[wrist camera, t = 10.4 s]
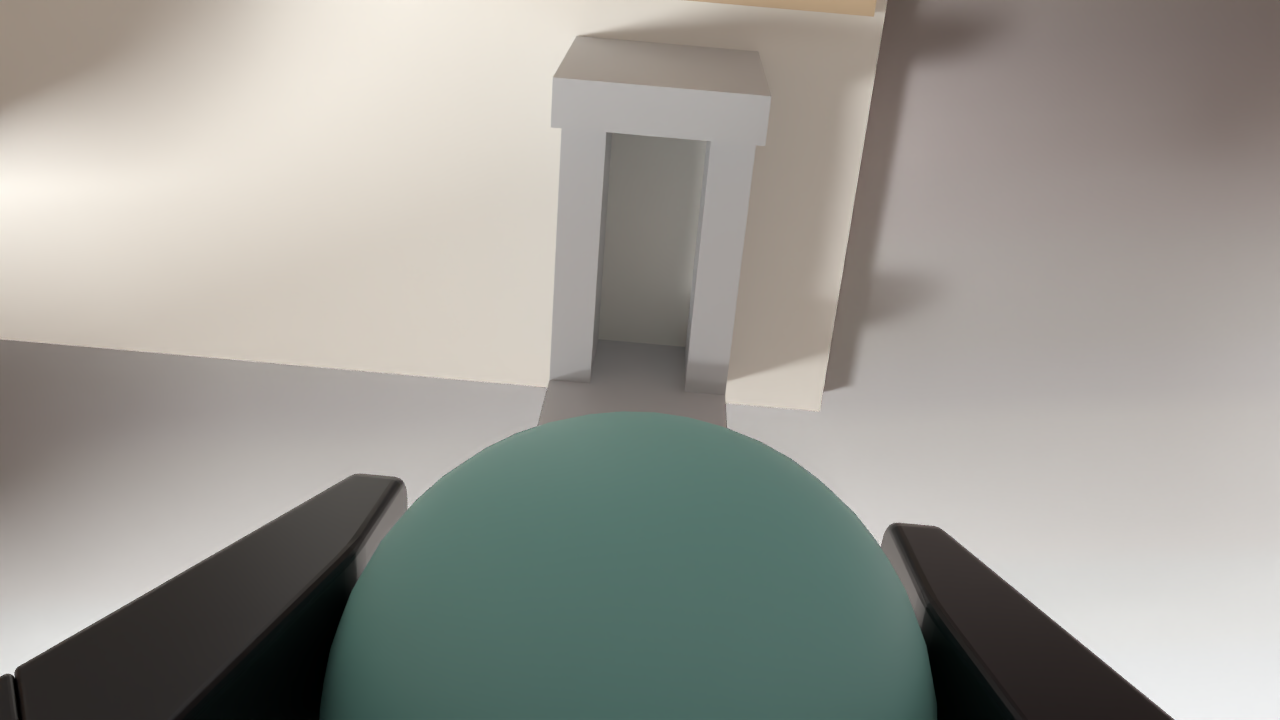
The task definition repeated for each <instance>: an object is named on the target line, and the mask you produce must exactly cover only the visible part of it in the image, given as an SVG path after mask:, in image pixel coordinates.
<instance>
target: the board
mask: <svg viewBox="0 0 1280 720" xmlns="http://www.w3.org/2000/svg"><path fill="white" fill-rule="evenodd" d="M886 6H887V0H0V339H2V340H13V341H24V342H36V343H47V344H58V345H70V346H81V347H92V348H104V349H115V350H126V351H137V352H149V353H160V354H171V355H183V356H194V357H205V358H217V359H228V360H239V361H250V362H262V363H273V364H284V365H296V366H307V367H318V368H330V369H341V370H352V371H363V372H375V373H386V374H397V375H409V376H420V377H431V378H443V379H454V380H465V381H477V382H488V383H499V384H510V385H522V386H533V387H544V388H547V391H546V395H545V399H544V403H543V406H542V410H541V414H540V418H539V422H538V426H540V425H543V424H546V423H549V422H554V421H558V420H563V419H568V418H573V417H578V416H583V415H588V414H597V413H609V412H621V411H629V412H657V413H663V414H670V415H677V416H683V417H689V418H693V419H697V420H701V421H704V422H708V423H712V424H715V425H719V426H722V427H725V428H727V419H726V404H736V405H748V406H759V407H770V408H782V409H793V410H804V411H816V412H820V408H821V402H822V396H823V390H824V384H825V377H826V371H827V365H828V359H829V353H830V347H831V341H832V335H833V329H834V323H835V317H836V311H837V304H838V298H839V292H840V286H841V280H842V274H843V268H844V262H845V256H846V250H847V244H848V237H849V231H850V225H851V219H852V213H853V207H854V201H855V195H856V189H857V183H858V177H859V171H860V164H861V158H862V152H863V146H864V140H865V134H866V128H867V122H868V116H869V110H870V104H871V98H872V91H873V85H874V79H875V73H876V67H877V61H878V55H879V49H880V43H881V37H882V31H883V25H884V18H885V12H886Z"/></svg>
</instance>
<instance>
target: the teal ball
mask: <svg viewBox="0 0 1280 720" xmlns="http://www.w3.org/2000/svg"><path fill="white" fill-rule="evenodd" d="M319 720H937V701H936V696H935V690H934V684H933V678H932V673H931V668H930V662H929V657H928V652H927V646H926V643H925V640H924V637H923V635H922V632H921V629H920V627H919V624H918V621H917V618H916V616H915V613H914V610H913V608H912V605H911V603H910V600H909V597H908V595H907V592H906V590H905V588H904V586H903V584H902V582H901V581H900V579H899V577H898V575H897V574H896V572H895V570H894V568H893V566H892V565H891V563H890V561H889V559H888V558H887V556H886V555H885V553H884V552H883V550H882V549H881V547H880V546H879V544H878V543H877V541H876V540H875V539H874V537H873V536H872V535H871V533H870V532H869V531H868V530H867V528H866V527H865V526H864V524H863V523H862V522H861V521H860V519H859V518H858V517H857V515H856V514H855V513H854V512H853V511H852V510H851V509H850V508H849V507H848V506H847V505H845V504H844V503H843V502H842V501H841V500H840V499H839V498H838V497H837V496H836V495H835V494H834V493H833V492H832V491H831V490H830V489H829V488H828V487H827V486H825V485H824V484H823V483H822V482H821V481H820V480H819V479H818V478H816V477H815V476H814V475H812V474H811V473H810V472H808V471H807V470H805V469H804V468H803V467H801V466H800V465H799V464H797V463H796V462H795V461H793V460H792V459H791V458H789V457H787V456H785V455H783V454H781V453H780V452H778V451H776V450H774V449H772V448H771V447H769V446H767V445H765V444H763V443H762V442H760V441H757V440H755V439H752V438H750V437H747V436H745V435H742V434H740V433H737V432H735V431H732V430H730V429H728V428H725V427H722V426H719V425H715V424H712V423H708V422H704V421H701V420H697V419H693V418H689V417H683V416H677V415H670V414H663V413H657V412H629V411H621V412H609V413H597V414H588V415H583V416H578V417H573V418H568V419H563V420H558V421H554V422H549V423H546V424H543V425H540V426H537V427H534V428H531V429H528V430H525V431H522V432H519V433H516V434H514V435H512V436H510V437H508V438H506V439H504V440H502V441H500V442H497V443H495V444H493V445H491V446H489V447H487V448H485V449H484V450H482V451H481V452H479V453H478V454H476V455H475V456H473V457H471V458H470V459H468V460H467V461H465V462H464V463H462V464H461V465H459V466H458V467H456V468H455V469H453V470H452V471H450V472H449V473H447V474H446V475H444V476H443V477H442V478H441V479H439V480H438V481H437V482H436V483H435V484H434V485H433V486H432V487H430V488H429V489H428V490H427V491H426V492H425V493H424V494H423V495H421V496H420V497H419V498H418V499H417V500H416V501H415V502H414V503H413V504H412V506H411V507H410V508H409V509H408V510H407V511H406V512H405V513H404V514H403V515H402V517H401V518H400V519H399V520H398V521H397V523H396V524H395V525H394V526H393V527H392V529H391V530H390V531H389V532H388V533H387V535H386V536H385V537H384V538H383V539H382V541H381V542H380V544H379V545H378V547H377V549H376V550H375V552H374V554H373V555H372V557H371V559H370V561H369V562H368V564H367V566H366V567H365V569H364V571H363V572H362V574H361V576H360V577H359V579H358V581H357V583H356V584H355V586H354V588H353V590H352V591H351V594H350V596H349V599H348V601H347V604H346V606H345V609H344V611H343V614H342V617H341V619H340V622H339V625H338V628H337V630H336V633H335V636H334V639H333V642H332V645H331V648H330V652H329V657H328V662H327V667H326V672H325V677H324V683H323V690H322V697H321V704H320V716H319Z"/></svg>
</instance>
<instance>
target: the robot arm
mask: <svg viewBox="0 0 1280 720" xmlns="http://www.w3.org/2000/svg"><path fill="white" fill-rule="evenodd" d="M406 511H407V491H406V487H405V484H404V482H403V481H402V480H401V479H400V478H397V477H390V476H379V475H368V474H354V475H352V476H350V477H348V478H346V479H344V480H342V481H341V482H339V483H337V484H335V485H334V486H332V487H330V488H328V489H327V490H325V491H323V492H322V493H320V494H318V495H316V496H315V497H313V498H311V499H309V500H308V501H306V502H304V503H302V504H301V505H299V506H297V507H295V508H294V509H292V510H290V511H288V512H287V513H285V514H283V515H282V516H280V517H278V518H276V519H275V520H273V521H271V522H269V523H268V524H266V525H264V526H262V527H261V528H259V529H257V530H255V531H254V532H252V533H250V534H248V535H247V536H245V537H243V538H241V539H240V540H238V541H236V542H235V543H233V544H231V545H229V546H228V547H226V548H224V549H222V550H221V551H219V552H217V553H215V554H214V555H212V556H210V557H208V558H207V559H205V560H203V561H201V562H200V563H198V564H196V565H195V566H193V567H191V568H189V569H188V570H186V571H184V572H182V573H181V574H179V575H177V576H175V577H174V578H172V579H170V580H168V581H167V582H165V583H163V584H161V585H160V586H158V587H156V588H154V589H153V590H151V591H149V592H148V593H146V594H144V595H142V596H141V597H139V598H137V599H135V600H134V601H132V602H130V603H128V604H127V605H125V606H123V607H121V608H120V609H118V610H116V611H114V612H113V613H111V614H109V615H108V616H106V617H104V618H102V619H101V620H99V621H97V622H95V623H94V624H92V625H90V626H88V627H87V628H85V629H83V630H81V631H80V632H78V633H76V634H74V635H73V636H71V637H69V638H67V639H66V640H64V641H62V642H60V643H59V644H57V645H55V646H53V647H52V648H50V649H48V650H47V651H45V652H43V653H41V654H40V655H38V656H36V657H34V658H33V659H31V660H29V661H27V662H26V663H24V664H22V665H20V666H19V667H17V668H16V670H15V672H14V675H15V678H14V676H13V675H11V674H4V675H2V676H1V677H0V720H319V716H320V704H321V697H322V690H323V683H324V677H325V672H326V667H327V662H328V657H329V652H330V648H331V645H332V642H333V639H334V636H335V633H336V630H337V628H338V625H339V622H340V619H341V617H342V614H343V611H344V609H345V606H346V604H347V601H348V599H349V596H350V594H351V591H352V590H353V588H354V586H355V584H356V583H357V581H358V579H359V577H360V576H361V574H362V572H363V571H364V569H365V567H366V566H367V564H368V562H369V561H370V559H371V557H372V555H373V554H374V552H375V550H376V549H377V547H378V545H379V544H380V542H381V541H382V539H383V538H384V537H385V536H386V535H387V533H388V532H389V531H390V530H391V529H392V527H393V526H394V525H395V524H396V523H397V521H398V520H399V519H400V518H401V517H402V515H403V514H404V513H405V512H406ZM881 549H882V550H883V552H884V553H885V555H886V556H887V558H888V559H889V561H890V563H891V565H892V566H893V568H894V570H895V572H896V574H897V575H898V577H899V579H900V581H901V582H902V584H903V586H904V588H905V590H906V592H907V595H908V597H909V600H910V603H911V605H912V608H913V610H914V613H915V616H916V618H917V621H918V624H919V627H920V629H921V632H922V635H923V637H924V640H925V643H926V646H927V652H928V657H929V662H930V668H931V673H932V678H933V684H934V690H935V696H936V701H937V720H1174V719H1173V718H1172V717H1171V716H1169V715H1168V714H1167V713H1166V712H1165V711H1163V710H1162V709H1161V708H1160V707H1158V706H1157V705H1156V704H1155V703H1154V702H1152V701H1151V700H1150V699H1149V698H1147V697H1146V696H1145V695H1144V694H1143V693H1141V692H1140V691H1139V690H1138V689H1136V688H1135V687H1134V686H1133V685H1132V684H1130V683H1129V682H1128V681H1127V680H1125V679H1124V678H1123V677H1122V676H1121V675H1119V674H1118V673H1117V672H1116V671H1114V670H1113V669H1112V668H1111V667H1110V666H1108V665H1107V664H1106V663H1105V662H1103V661H1102V660H1101V659H1100V658H1099V657H1097V656H1096V655H1095V654H1094V653H1092V652H1091V651H1090V650H1089V649H1088V648H1086V647H1085V646H1084V645H1083V644H1082V643H1080V642H1079V641H1078V640H1077V639H1075V638H1074V637H1073V636H1072V635H1071V634H1069V633H1068V632H1067V631H1066V630H1064V629H1063V628H1062V627H1061V626H1060V625H1058V624H1057V623H1056V622H1055V621H1053V620H1052V619H1051V618H1050V617H1049V616H1047V615H1046V614H1045V613H1044V612H1042V611H1041V610H1040V609H1039V608H1038V607H1036V606H1035V605H1034V604H1033V603H1031V602H1030V601H1029V600H1028V599H1027V598H1025V597H1024V596H1023V595H1022V594H1020V593H1019V592H1018V591H1017V590H1016V589H1014V588H1013V587H1012V586H1011V585H1009V584H1008V583H1007V582H1006V581H1005V580H1003V579H1002V578H1001V577H1000V576H998V575H997V574H996V573H995V572H994V571H992V570H991V569H990V568H989V567H987V566H986V565H985V564H984V563H983V562H981V561H980V560H979V559H978V558H977V557H975V556H974V555H973V554H972V553H970V552H969V551H968V550H967V549H966V548H964V547H963V546H962V545H961V544H959V543H958V542H957V541H956V540H955V539H953V538H952V537H951V536H950V535H948V534H947V533H946V532H945V531H943V530H942V529H940V528H939V527H935V526H929V525H918V524H906V523H893V524H891V525H890V526H889V527H888V528H887V529H886V531H885V533H884V536H883V540H882V544H881Z"/></svg>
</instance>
